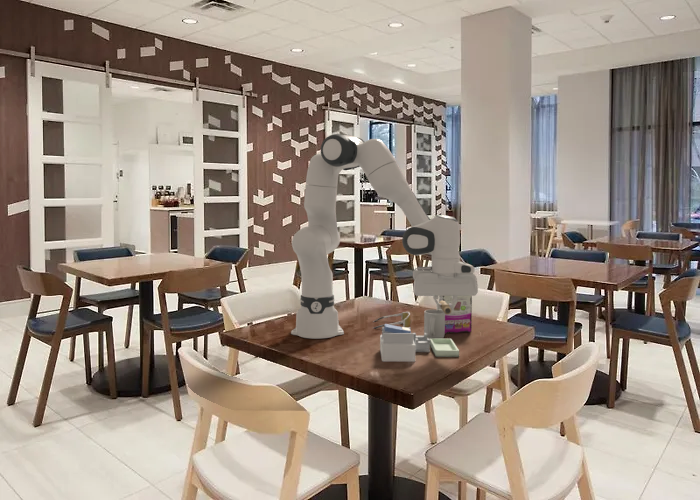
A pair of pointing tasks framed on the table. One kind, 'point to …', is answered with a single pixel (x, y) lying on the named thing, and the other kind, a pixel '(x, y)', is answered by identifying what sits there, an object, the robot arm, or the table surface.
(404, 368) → the table surface
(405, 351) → the grey card holder
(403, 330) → the blue box
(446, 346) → the tray
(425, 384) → the table surface
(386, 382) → the table surface
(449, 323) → the candy bar box
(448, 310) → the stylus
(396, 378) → the table surface
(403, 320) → the sunglasses
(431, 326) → the cup
